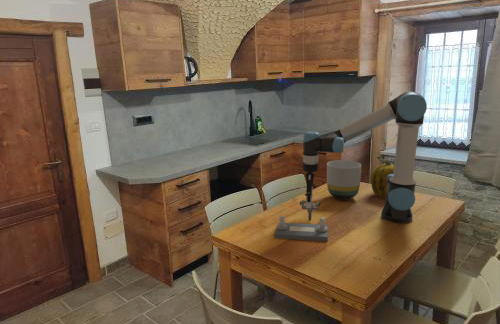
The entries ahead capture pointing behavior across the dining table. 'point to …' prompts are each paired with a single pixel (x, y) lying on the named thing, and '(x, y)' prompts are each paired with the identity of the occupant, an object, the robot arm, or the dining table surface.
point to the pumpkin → (381, 177)
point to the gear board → (302, 230)
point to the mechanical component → (310, 208)
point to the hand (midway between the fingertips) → (309, 203)
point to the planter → (343, 178)
